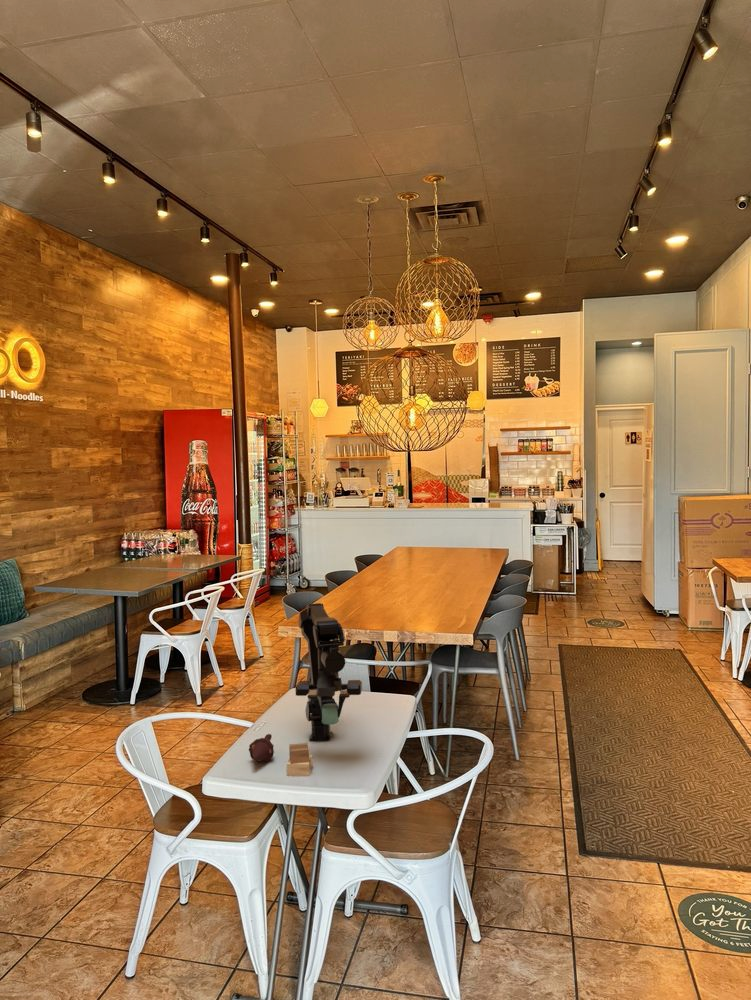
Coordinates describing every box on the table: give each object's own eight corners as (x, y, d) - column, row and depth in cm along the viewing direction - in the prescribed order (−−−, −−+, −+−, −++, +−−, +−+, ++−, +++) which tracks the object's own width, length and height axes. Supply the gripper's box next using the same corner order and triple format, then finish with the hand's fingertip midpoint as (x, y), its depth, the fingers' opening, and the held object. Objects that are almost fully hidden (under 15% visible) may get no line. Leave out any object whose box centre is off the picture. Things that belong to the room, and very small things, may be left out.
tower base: (291, 767, 197) (291, 755, 197) (312, 767, 197) (312, 755, 196) (287, 776, 191) (286, 763, 191) (308, 776, 191) (308, 764, 191)
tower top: (289, 756, 196) (289, 744, 196) (307, 755, 197) (307, 742, 197) (290, 763, 191) (290, 751, 191) (309, 762, 192) (308, 749, 192)
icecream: (270, 749, 193) (283, 734, 208) (244, 742, 194) (259, 727, 209) (264, 774, 193) (277, 757, 208) (238, 767, 194) (253, 750, 209)
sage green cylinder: (323, 718, 205) (322, 703, 205) (339, 718, 205) (338, 703, 205) (320, 724, 200) (320, 709, 200) (337, 724, 200) (337, 708, 200)
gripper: (291, 672, 195) (293, 727, 195) (358, 670, 194) (360, 726, 194) (297, 661, 206) (299, 714, 206) (361, 660, 205) (363, 713, 205)
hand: (330, 717), depth 203 cm, fingers closed on sage green cylinder, 5 cm apart
